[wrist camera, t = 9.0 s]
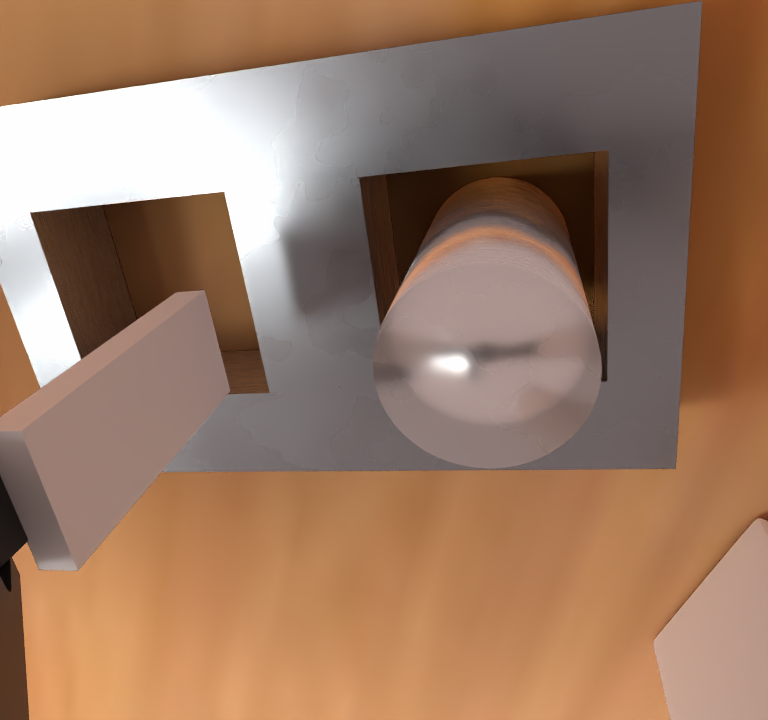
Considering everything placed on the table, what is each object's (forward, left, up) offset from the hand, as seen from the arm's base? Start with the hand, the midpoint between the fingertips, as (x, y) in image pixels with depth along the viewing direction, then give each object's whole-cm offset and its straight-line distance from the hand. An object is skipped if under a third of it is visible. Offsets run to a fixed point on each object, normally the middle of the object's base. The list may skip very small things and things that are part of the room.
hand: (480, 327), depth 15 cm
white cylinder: (0, 0, -7) cm, 7 cm away
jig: (-5, 0, -7) cm, 8 cm away
